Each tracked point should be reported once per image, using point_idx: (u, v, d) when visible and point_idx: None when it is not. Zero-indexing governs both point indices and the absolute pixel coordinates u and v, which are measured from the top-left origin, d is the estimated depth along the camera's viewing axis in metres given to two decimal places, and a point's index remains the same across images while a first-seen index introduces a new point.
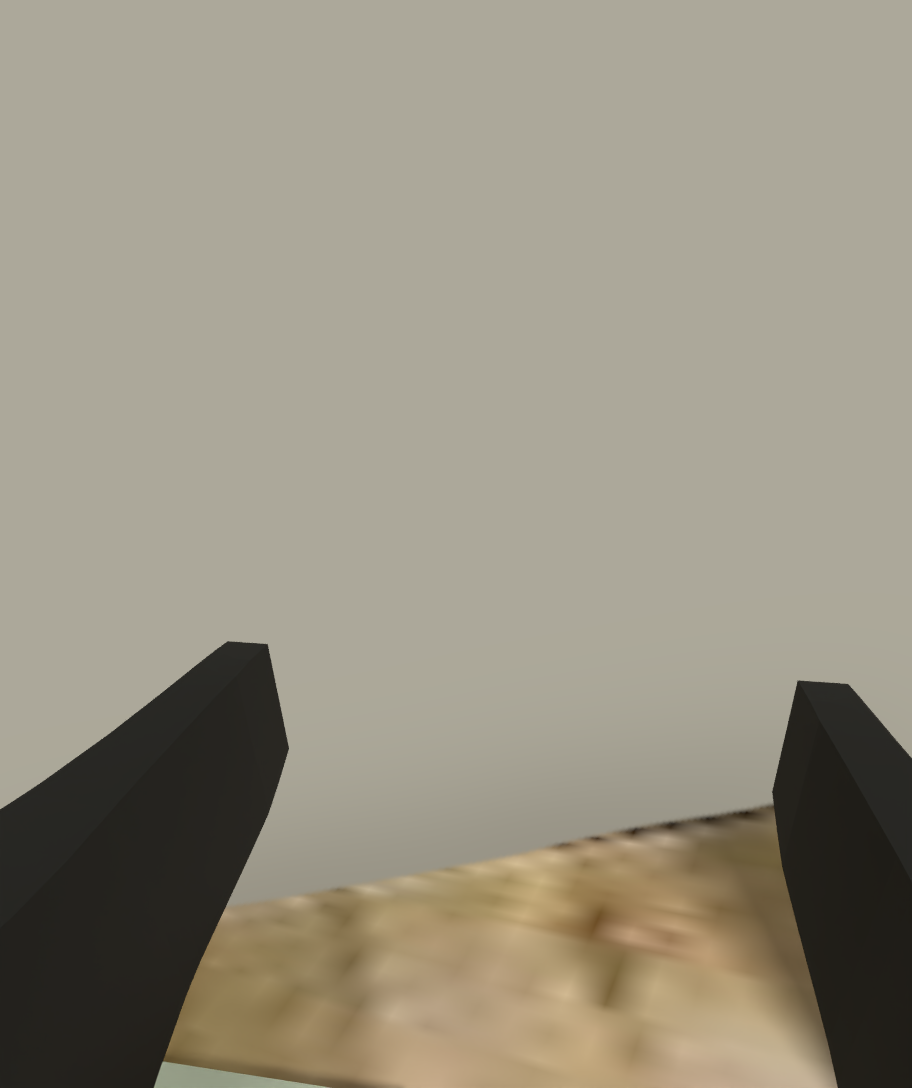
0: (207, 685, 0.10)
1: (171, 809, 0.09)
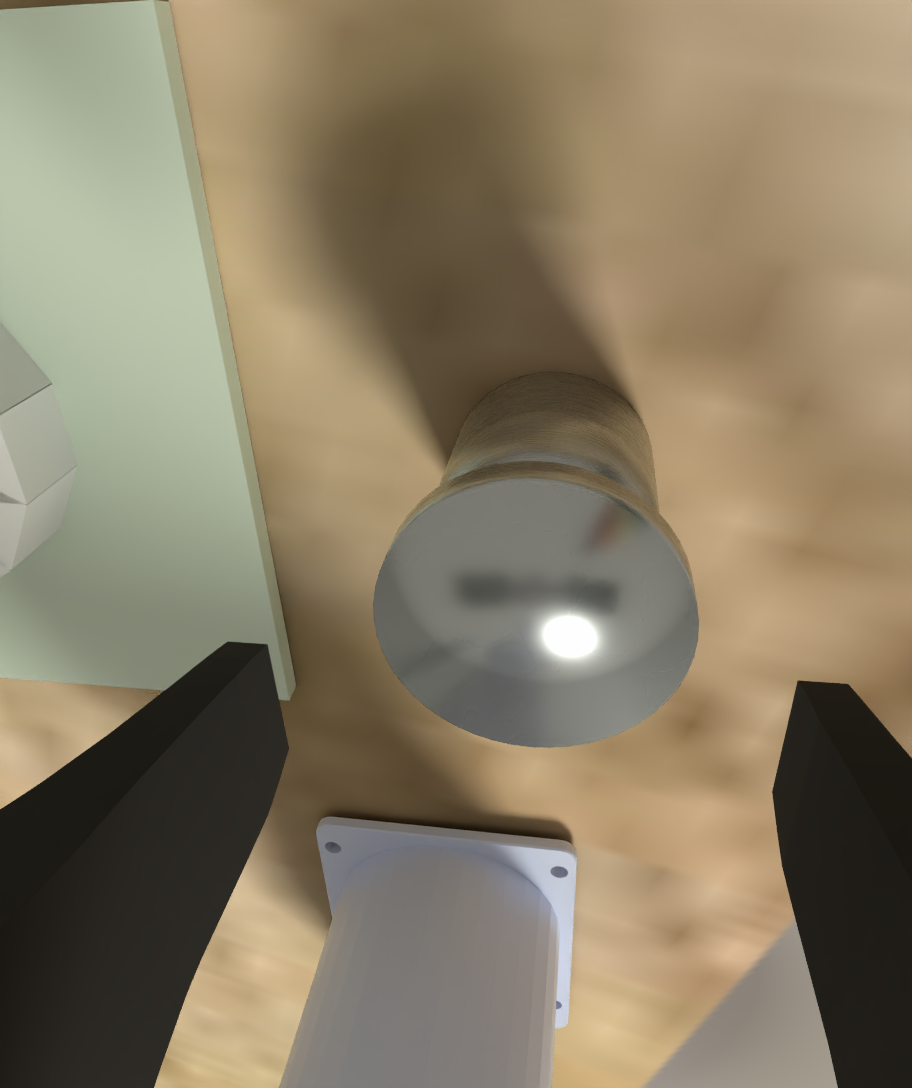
0: (207, 685, 0.10)
1: (171, 809, 0.09)
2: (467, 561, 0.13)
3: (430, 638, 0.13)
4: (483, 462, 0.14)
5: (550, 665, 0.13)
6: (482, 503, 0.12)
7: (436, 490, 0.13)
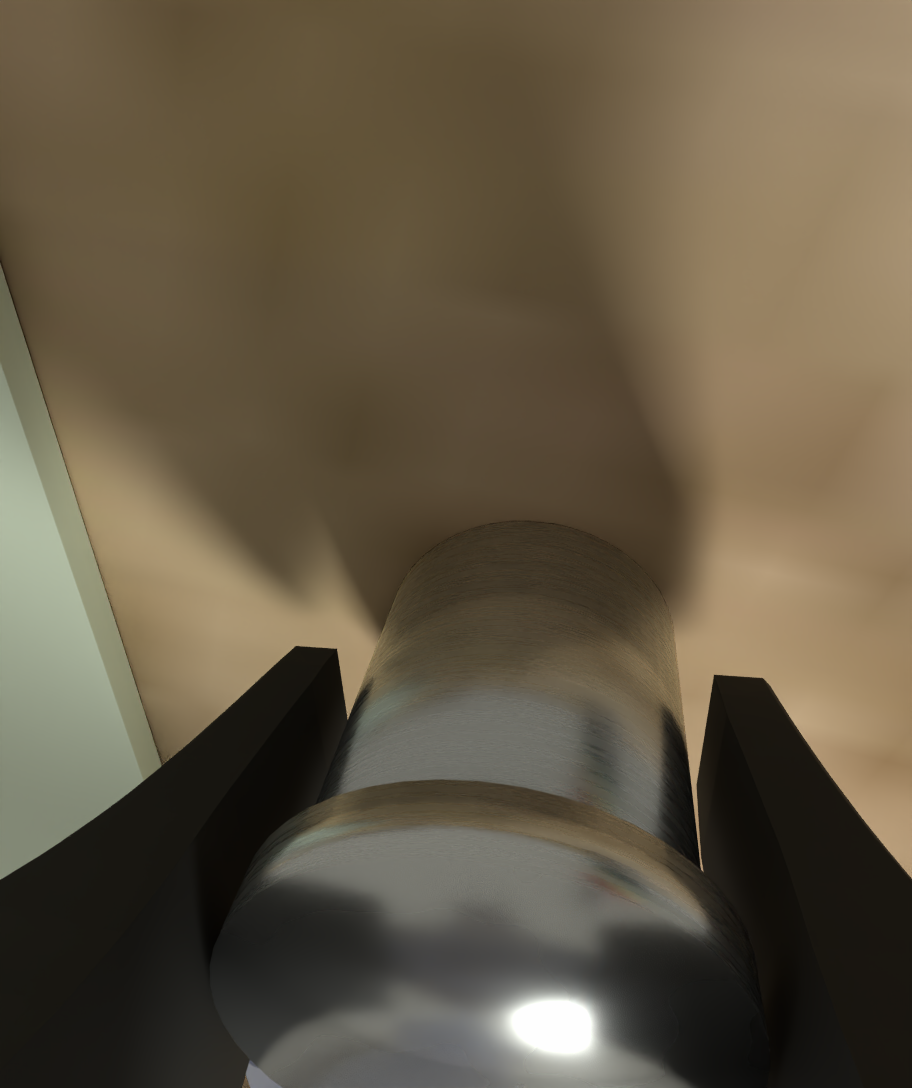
0: (283, 691, 0.10)
1: (255, 818, 0.09)
2: (360, 950, 0.07)
3: (310, 1036, 0.08)
4: (402, 726, 0.08)
5: (511, 1087, 0.08)
6: (378, 878, 0.07)
7: (309, 814, 0.07)
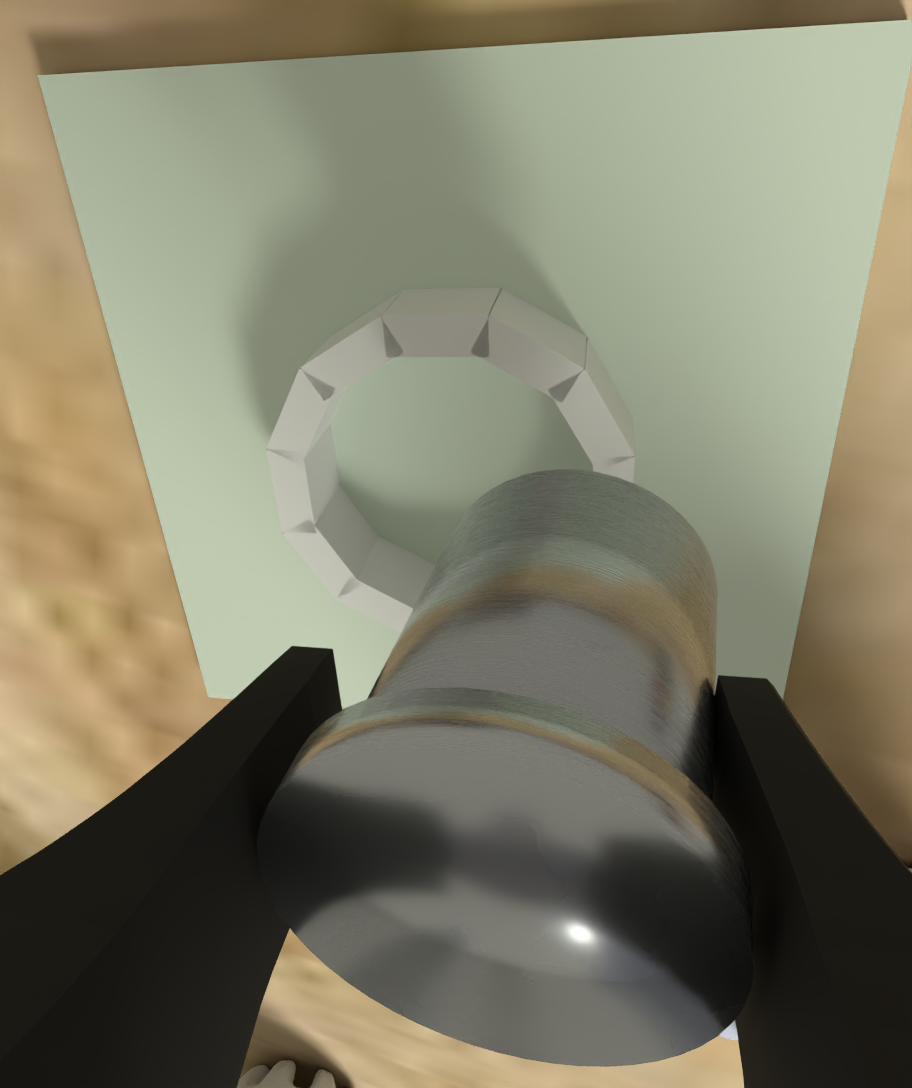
0: (279, 691, 0.10)
1: (250, 817, 0.09)
2: (383, 834, 0.08)
3: (343, 912, 0.09)
4: (436, 646, 0.09)
5: (519, 973, 0.09)
6: (396, 767, 0.07)
7: (344, 713, 0.08)
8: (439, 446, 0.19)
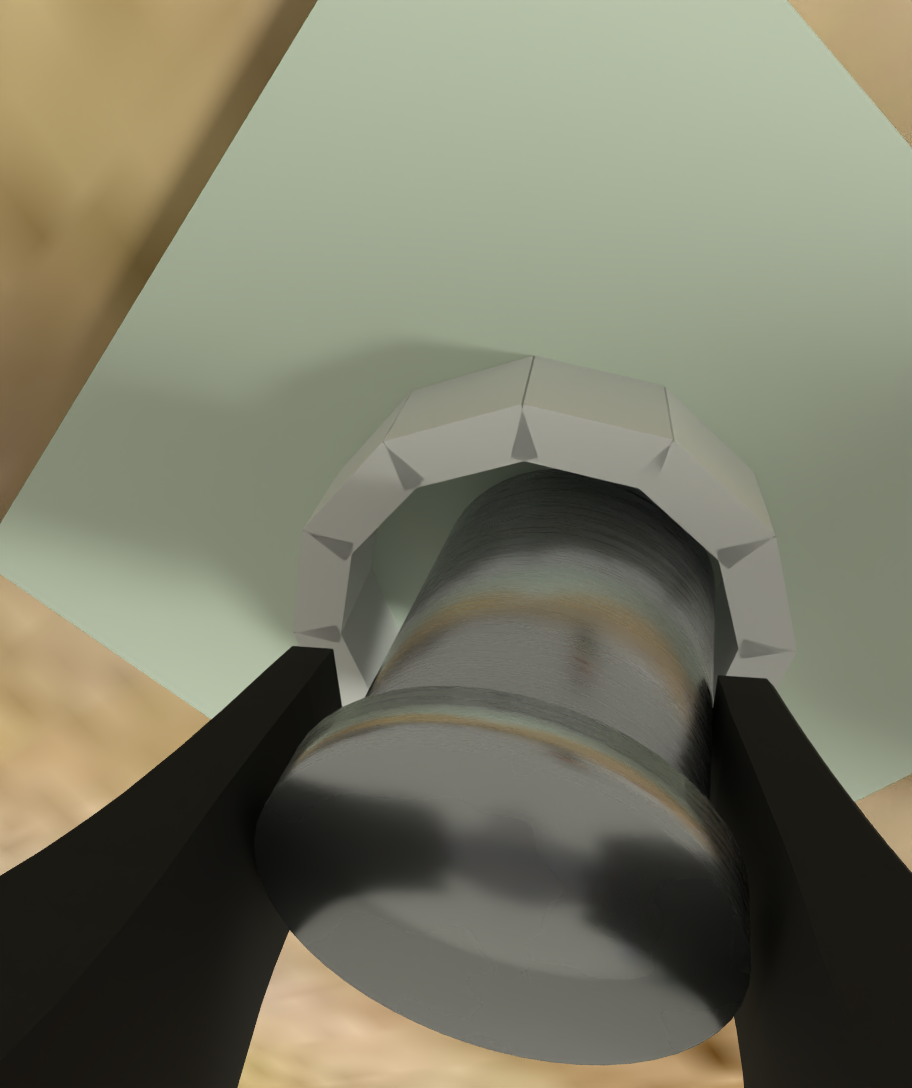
0: (279, 690, 0.10)
1: (251, 817, 0.09)
2: (380, 833, 0.08)
3: (340, 911, 0.09)
4: (433, 645, 0.09)
5: (517, 972, 0.09)
6: (393, 765, 0.07)
7: (341, 712, 0.08)
8: None
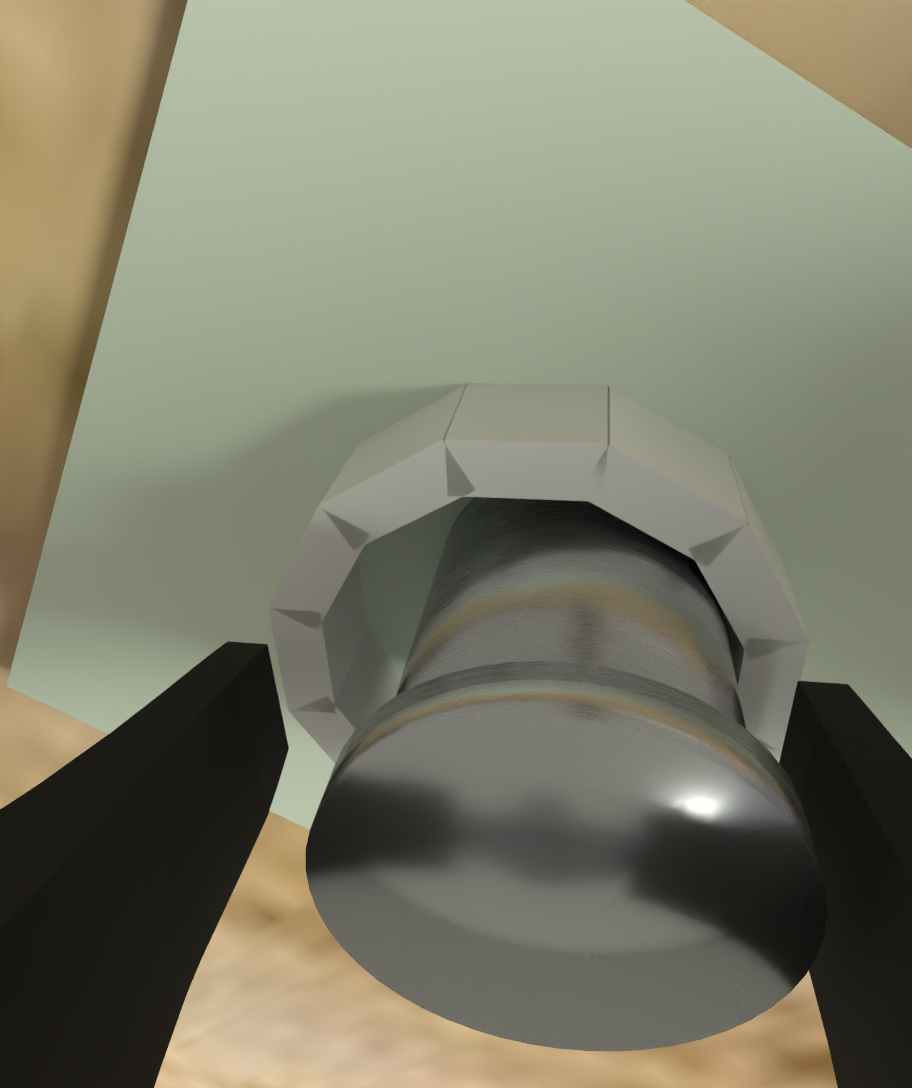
0: (207, 685, 0.10)
1: (171, 809, 0.09)
2: (445, 821, 0.08)
3: (397, 916, 0.09)
4: (470, 632, 0.09)
5: (585, 956, 0.09)
6: (463, 745, 0.07)
7: (393, 703, 0.08)
8: None
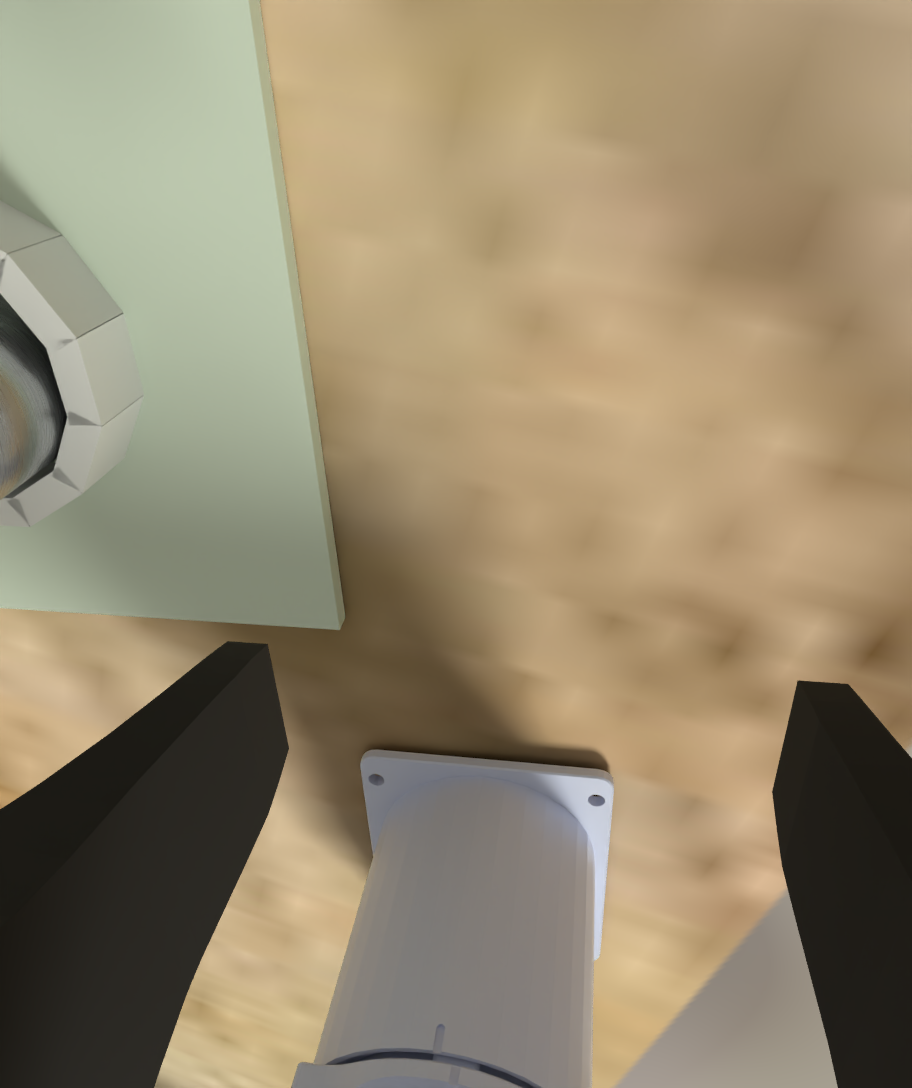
0: (207, 685, 0.10)
1: (171, 809, 0.09)
2: None
3: None
4: None
5: None
6: None
7: None
8: None
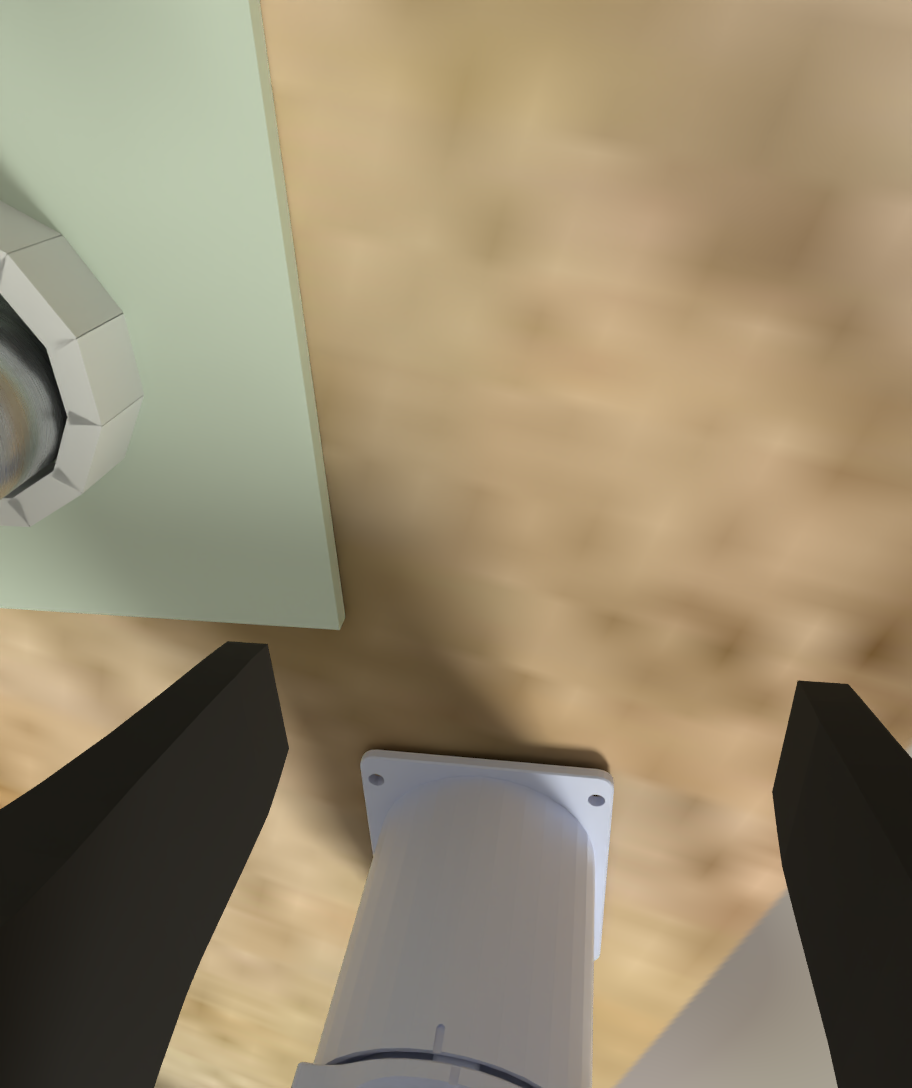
0: (207, 685, 0.10)
1: (171, 809, 0.09)
2: None
3: None
4: None
5: None
6: None
7: None
8: None
